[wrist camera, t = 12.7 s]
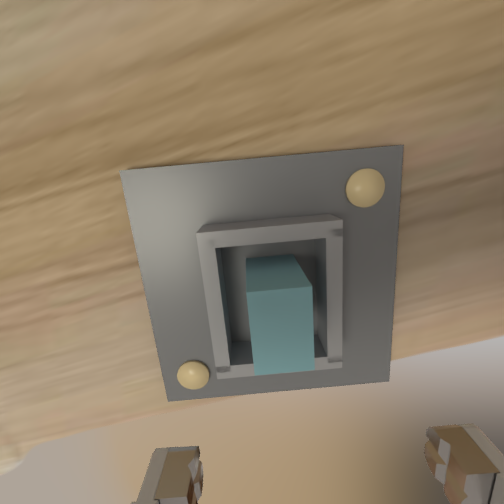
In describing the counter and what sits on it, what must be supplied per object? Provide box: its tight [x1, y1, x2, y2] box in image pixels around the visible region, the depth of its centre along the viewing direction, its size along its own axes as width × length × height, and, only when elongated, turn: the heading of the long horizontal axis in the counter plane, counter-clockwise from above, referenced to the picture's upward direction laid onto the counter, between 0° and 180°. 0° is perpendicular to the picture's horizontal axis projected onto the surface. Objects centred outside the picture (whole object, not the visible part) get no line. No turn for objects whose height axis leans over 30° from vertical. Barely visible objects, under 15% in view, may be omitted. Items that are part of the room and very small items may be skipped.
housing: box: [119, 145, 404, 402], centre depth 23 cm, size 22×22×4 cm
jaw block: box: [246, 254, 315, 376], centre depth 21 cm, size 4×6×7 cm, turn 5°
